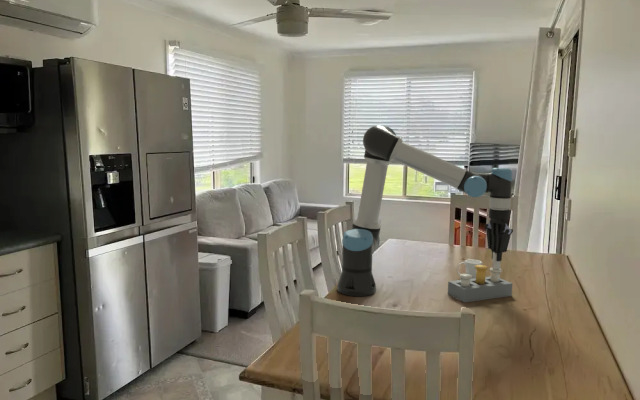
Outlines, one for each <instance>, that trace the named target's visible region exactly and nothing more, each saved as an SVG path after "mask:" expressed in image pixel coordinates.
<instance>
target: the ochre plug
mask: <svg viewBox="0 0 640 400" xmlns="http://www.w3.org/2000/svg"><path fill="white" fill-rule="evenodd" d="M475 268H476V283H477V284H485V277H486V273H487V270H488V266H487V265H483V264H482V265H475Z"/></svg>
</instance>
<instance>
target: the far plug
mask: <svg viewBox="0 0 640 400" xmlns="http://www.w3.org/2000/svg"><path fill="white" fill-rule="evenodd" d="M489 272H490V276H491V277H490V276H489V277H490V282H493V283H499V282H500V279H501V273H502V268H500V269H492V267H490V268H489Z"/></svg>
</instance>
